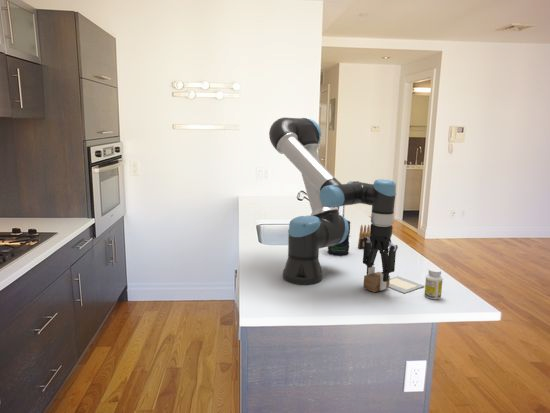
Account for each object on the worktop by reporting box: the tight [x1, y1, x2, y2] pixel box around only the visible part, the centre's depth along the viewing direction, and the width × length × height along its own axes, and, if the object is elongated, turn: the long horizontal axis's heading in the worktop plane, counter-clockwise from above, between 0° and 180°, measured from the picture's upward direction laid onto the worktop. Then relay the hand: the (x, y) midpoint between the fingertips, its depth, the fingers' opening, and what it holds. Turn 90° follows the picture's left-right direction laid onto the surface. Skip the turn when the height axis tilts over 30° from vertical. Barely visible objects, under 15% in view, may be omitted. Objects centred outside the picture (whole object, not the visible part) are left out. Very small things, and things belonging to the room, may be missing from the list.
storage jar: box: [327, 220, 351, 257], centre depth 191 cm, size 10×10×15 cm
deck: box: [363, 271, 391, 293], centre depth 149 cm, size 8×5×4 cm, turn 126°
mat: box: [388, 275, 425, 294], centre depth 154 cm, size 12×12×1 cm
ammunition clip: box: [357, 224, 372, 250], centre depth 200 cm, size 11×2×12 cm, turn 98°
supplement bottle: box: [424, 267, 444, 300], centre depth 143 cm, size 5×5×10 cm
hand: (376, 286), depth 150 cm, fingers closed on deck, 5 cm apart
